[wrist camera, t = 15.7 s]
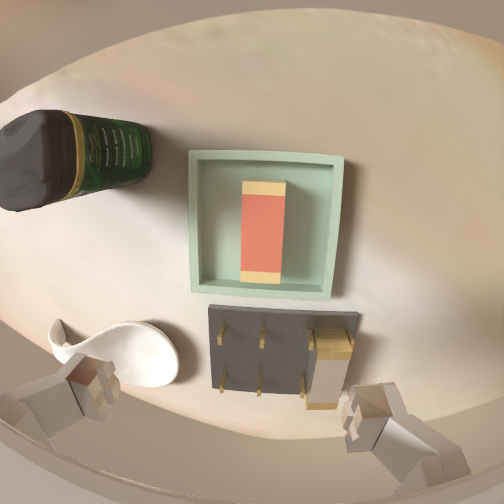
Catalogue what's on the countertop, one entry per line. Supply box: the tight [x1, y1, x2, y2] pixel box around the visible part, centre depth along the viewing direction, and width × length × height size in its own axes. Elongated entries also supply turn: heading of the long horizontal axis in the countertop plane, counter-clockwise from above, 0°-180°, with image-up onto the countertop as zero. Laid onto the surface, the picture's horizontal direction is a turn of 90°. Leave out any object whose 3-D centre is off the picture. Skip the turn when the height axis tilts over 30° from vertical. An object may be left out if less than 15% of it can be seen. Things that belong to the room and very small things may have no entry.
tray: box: [188, 150, 344, 301], centre depth 33 cm, size 16×16×3 cm
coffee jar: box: [0, 110, 152, 212], centre depth 24 cm, size 10×8×19 cm
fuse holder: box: [208, 304, 358, 410], centre depth 37 cm, size 19×14×6 cm
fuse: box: [240, 178, 286, 284], centre depth 31 cm, size 4×10×5 cm, turn 178°
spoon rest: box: [48, 319, 180, 388], centre depth 39 cm, size 24×12×7 cm, turn 91°
